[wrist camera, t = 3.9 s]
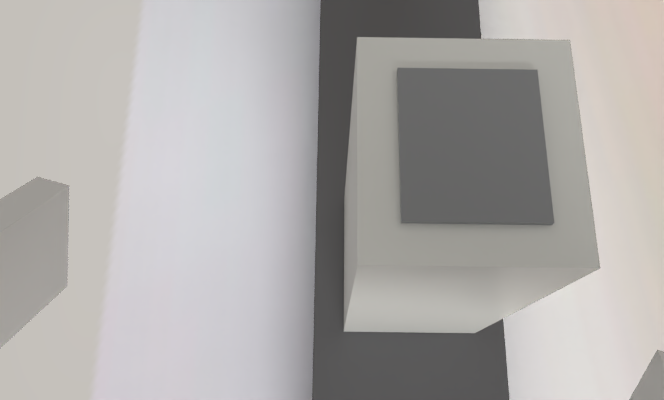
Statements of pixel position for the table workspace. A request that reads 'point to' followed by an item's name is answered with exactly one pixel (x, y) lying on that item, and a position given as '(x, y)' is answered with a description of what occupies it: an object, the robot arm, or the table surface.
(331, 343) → the power strip
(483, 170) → the block
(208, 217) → the table surface
